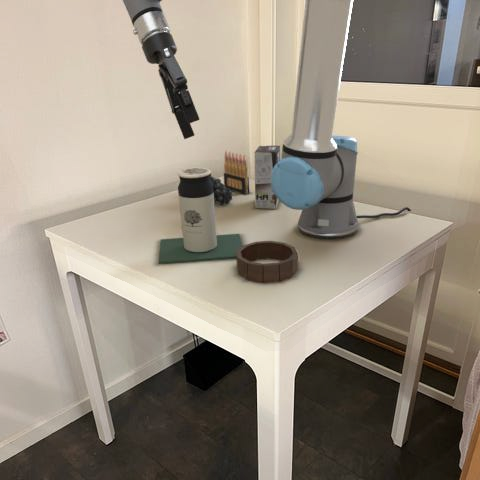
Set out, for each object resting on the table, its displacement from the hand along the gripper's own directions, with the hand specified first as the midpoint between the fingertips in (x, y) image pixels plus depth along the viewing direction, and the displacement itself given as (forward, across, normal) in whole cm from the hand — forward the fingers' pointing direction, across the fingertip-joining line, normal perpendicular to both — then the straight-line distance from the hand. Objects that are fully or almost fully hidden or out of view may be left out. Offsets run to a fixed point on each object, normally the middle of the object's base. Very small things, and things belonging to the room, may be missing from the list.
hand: (191, 130), depth 115 cm
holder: (+36, +16, +2) cm, 39 cm away
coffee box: (+22, -25, +18) cm, 38 cm away
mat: (+27, +1, -9) cm, 28 cm away
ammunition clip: (+14, -40, +13) cm, 45 cm away
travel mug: (+26, +2, -9) cm, 28 cm away
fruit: (+16, -31, +4) cm, 35 cm away
